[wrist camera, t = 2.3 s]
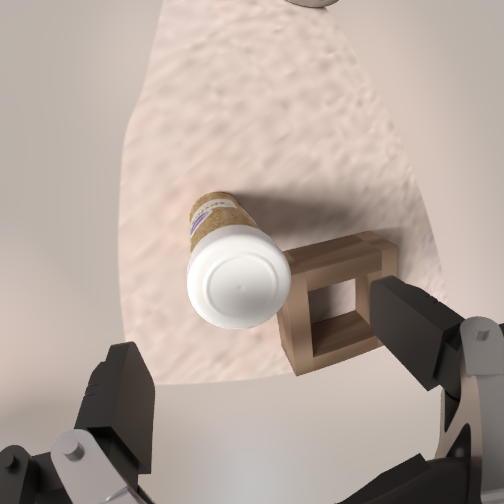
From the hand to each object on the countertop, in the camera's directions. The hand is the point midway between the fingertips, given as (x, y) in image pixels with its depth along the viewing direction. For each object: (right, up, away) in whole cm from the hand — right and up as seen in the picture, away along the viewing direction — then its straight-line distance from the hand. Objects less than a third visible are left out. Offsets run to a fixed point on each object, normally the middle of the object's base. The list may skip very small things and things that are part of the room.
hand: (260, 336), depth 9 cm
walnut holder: (+7, -1, +20) cm, 21 cm away
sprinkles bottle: (-3, +6, +16) cm, 17 cm away
